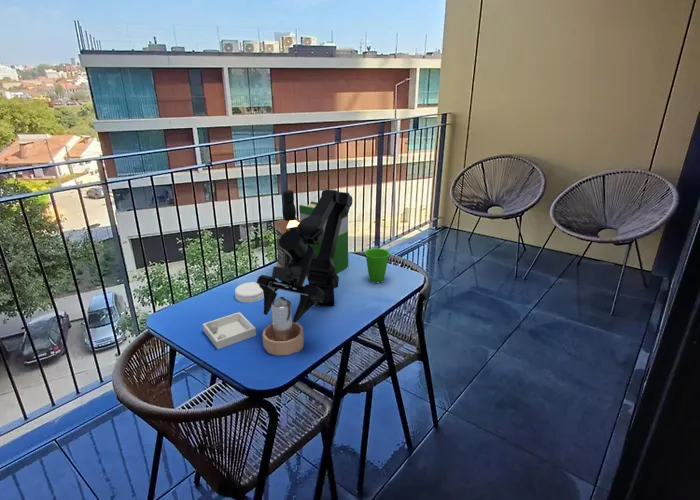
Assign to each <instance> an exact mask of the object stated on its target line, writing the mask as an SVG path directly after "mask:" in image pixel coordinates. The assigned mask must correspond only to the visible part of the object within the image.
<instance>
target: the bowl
mask: <svg viewBox="0 0 700 500" xmlns="http://www.w3.org/2000/svg"><path fill="white" fill-rule="evenodd" d="M292 325H293V339H291V340H288V341H274V332H273V322H272V323H270V324H269V325H267V326H266V327H264V329H263V332H262V343H263V349H264V350H265V351H266V352H267V353H268V354H270V355H271V354H272V355H274V356H288V355H289V356H290V355H291V354H294V353H299V352H300V351H301V350H302V349H303V348H304V339H305V338H304V327H303V326H302V325H301V324H300V323H299V322H296V323H294V322H293V321H292Z"/></svg>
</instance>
